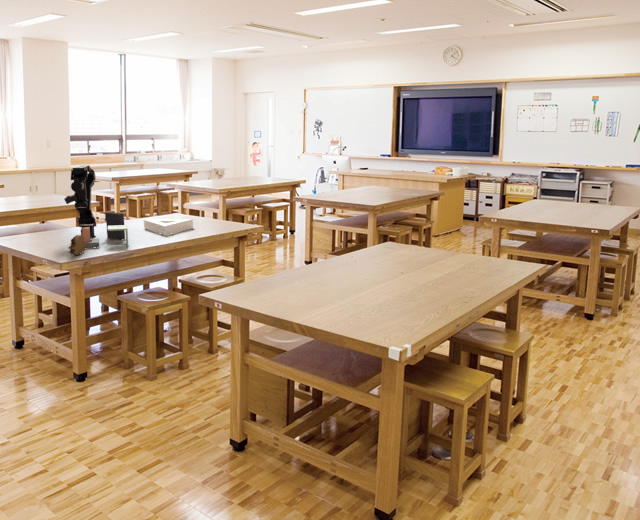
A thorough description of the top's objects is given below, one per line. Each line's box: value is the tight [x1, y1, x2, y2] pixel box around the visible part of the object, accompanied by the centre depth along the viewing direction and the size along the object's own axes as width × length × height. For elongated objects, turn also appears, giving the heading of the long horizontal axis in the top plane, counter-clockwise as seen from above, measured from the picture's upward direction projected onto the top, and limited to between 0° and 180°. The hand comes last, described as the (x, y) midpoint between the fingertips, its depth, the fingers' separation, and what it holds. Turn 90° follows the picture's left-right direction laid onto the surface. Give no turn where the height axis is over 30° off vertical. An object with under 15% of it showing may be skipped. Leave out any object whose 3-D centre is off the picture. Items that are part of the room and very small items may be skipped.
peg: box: [82, 227, 91, 242], centre depth 335 cm, size 4×4×10 cm
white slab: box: [143, 218, 194, 236], centre depth 389 cm, size 30×26×6 cm
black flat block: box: [104, 211, 126, 241], centre depth 357 cm, size 11×4×15 cm, turn 62°
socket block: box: [85, 238, 100, 249], centre depth 336 cm, size 12×12×3 cm
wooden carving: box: [68, 234, 86, 256], centre depth 315 cm, size 16×5×10 cm, turn 3°
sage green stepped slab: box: [108, 224, 129, 247], centre depth 340 cm, size 12×10×10 cm
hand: (82, 218), depth 347 cm, fingers open, 9 cm apart
